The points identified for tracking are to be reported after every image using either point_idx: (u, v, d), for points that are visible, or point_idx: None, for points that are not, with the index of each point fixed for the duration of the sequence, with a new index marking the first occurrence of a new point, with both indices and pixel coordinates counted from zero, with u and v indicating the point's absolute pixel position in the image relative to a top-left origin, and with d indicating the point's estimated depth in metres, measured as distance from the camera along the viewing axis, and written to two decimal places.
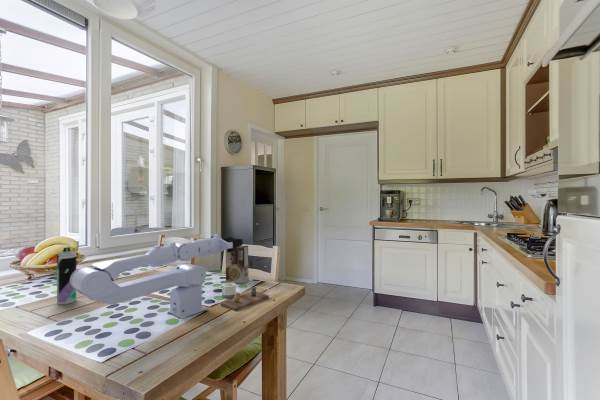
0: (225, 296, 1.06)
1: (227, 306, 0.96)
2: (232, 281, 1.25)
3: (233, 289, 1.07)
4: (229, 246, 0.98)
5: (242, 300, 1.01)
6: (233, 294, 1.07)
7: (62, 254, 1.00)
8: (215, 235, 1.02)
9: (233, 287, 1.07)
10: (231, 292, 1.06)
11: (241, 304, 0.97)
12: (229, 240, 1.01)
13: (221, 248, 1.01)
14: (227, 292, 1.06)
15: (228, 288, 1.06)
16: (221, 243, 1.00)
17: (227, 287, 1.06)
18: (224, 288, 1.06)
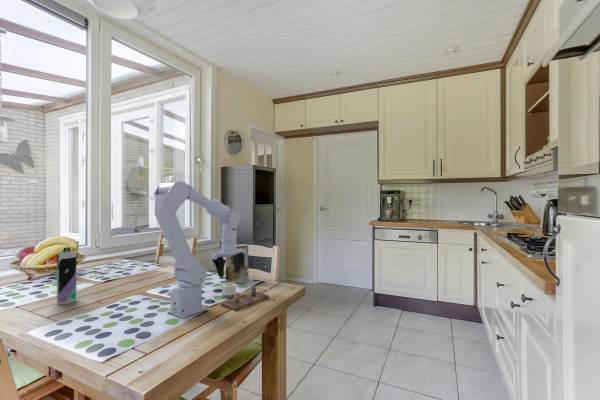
0: (225, 296, 1.06)
1: (227, 306, 0.96)
2: (232, 281, 1.25)
3: (233, 289, 1.07)
4: None
5: (242, 300, 1.01)
6: (233, 294, 1.07)
7: (62, 254, 1.00)
8: None
9: (233, 287, 1.07)
10: (231, 292, 1.06)
11: (241, 304, 0.97)
12: None
13: None
14: (227, 292, 1.06)
15: (228, 288, 1.06)
16: None
17: (227, 287, 1.06)
18: (224, 288, 1.06)
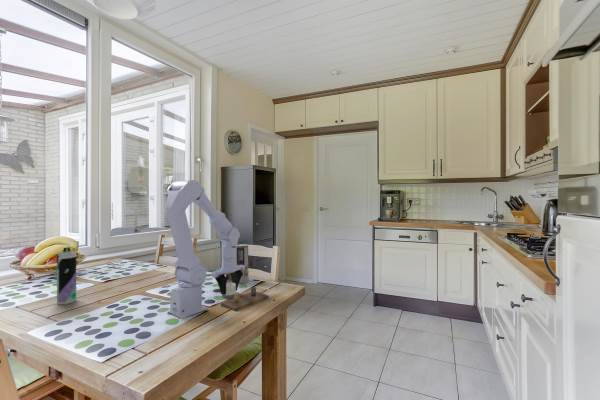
0: (225, 296, 1.06)
1: (227, 306, 0.96)
2: None
3: (233, 289, 1.07)
4: None
5: (242, 300, 1.01)
6: (233, 294, 1.07)
7: (62, 254, 1.00)
8: None
9: (233, 287, 1.07)
10: (231, 292, 1.06)
11: (241, 304, 0.97)
12: None
13: (236, 268, 1.10)
14: (227, 292, 1.06)
15: (228, 288, 1.06)
16: None
17: (227, 287, 1.06)
18: None
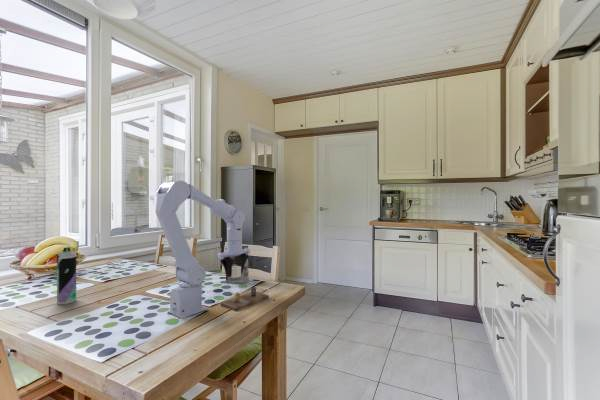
0: (231, 278, 1.05)
1: (227, 306, 0.96)
2: (232, 281, 1.25)
3: (238, 272, 1.06)
4: None
5: (242, 300, 1.01)
6: (238, 277, 1.06)
7: (62, 254, 1.00)
8: None
9: (238, 270, 1.06)
10: (237, 274, 1.05)
11: (241, 304, 0.97)
12: None
13: (242, 251, 1.09)
14: (233, 274, 1.05)
15: (234, 271, 1.05)
16: None
17: (233, 269, 1.05)
18: None
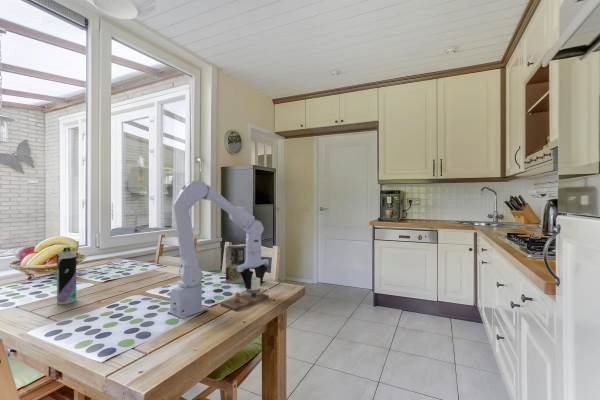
0: (250, 291, 1.03)
1: (227, 306, 0.96)
2: (232, 281, 1.25)
3: (258, 284, 1.04)
4: None
5: (242, 300, 1.01)
6: (258, 289, 1.04)
7: (62, 254, 1.00)
8: None
9: (258, 282, 1.04)
10: (256, 287, 1.03)
11: (241, 304, 0.97)
12: None
13: (261, 262, 1.07)
14: (252, 287, 1.03)
15: (253, 283, 1.03)
16: None
17: (252, 281, 1.03)
18: None
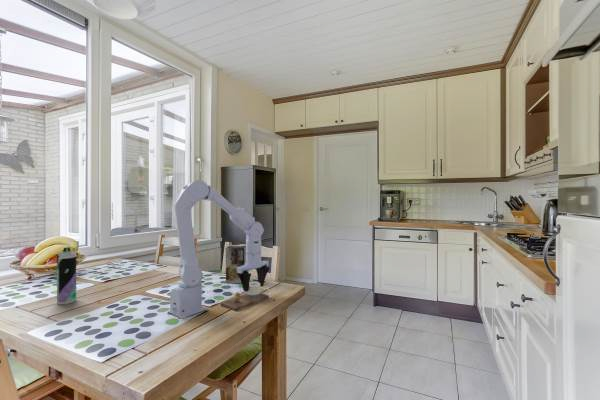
0: (250, 296, 1.03)
1: (227, 306, 0.96)
2: (232, 281, 1.25)
3: (258, 288, 1.04)
4: None
5: (242, 300, 1.01)
6: (258, 294, 1.04)
7: (62, 254, 1.00)
8: None
9: (258, 286, 1.04)
10: (256, 292, 1.03)
11: (241, 304, 0.97)
12: None
13: (261, 263, 1.07)
14: (252, 292, 1.03)
15: (253, 288, 1.03)
16: None
17: (252, 286, 1.03)
18: (249, 288, 1.03)
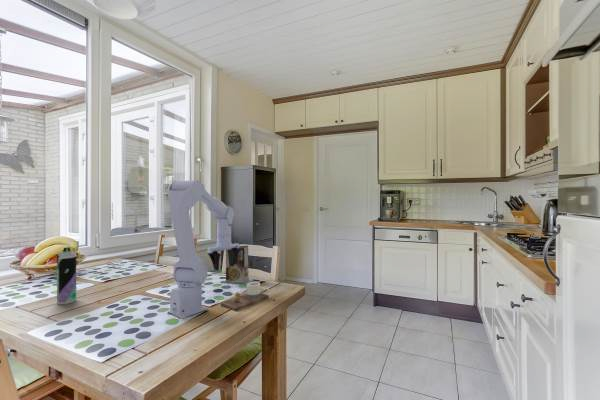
0: (250, 296, 1.03)
1: (227, 306, 0.96)
2: (232, 281, 1.25)
3: (258, 288, 1.04)
4: None
5: (242, 300, 1.01)
6: (258, 294, 1.04)
7: (62, 254, 1.00)
8: None
9: (258, 286, 1.04)
10: (256, 292, 1.03)
11: (241, 304, 0.97)
12: None
13: None
14: (252, 292, 1.03)
15: (253, 288, 1.03)
16: None
17: (252, 286, 1.03)
18: (249, 288, 1.03)
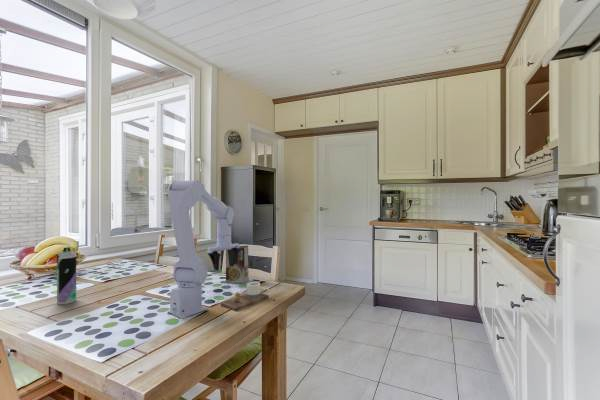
0: (250, 296, 1.03)
1: (227, 306, 0.96)
2: (232, 281, 1.25)
3: (258, 288, 1.04)
4: None
5: (242, 300, 1.01)
6: (258, 294, 1.04)
7: (62, 254, 1.00)
8: None
9: (258, 286, 1.04)
10: (256, 292, 1.03)
11: (241, 304, 0.97)
12: None
13: None
14: (252, 292, 1.03)
15: (253, 288, 1.03)
16: None
17: (252, 286, 1.03)
18: (249, 288, 1.03)
